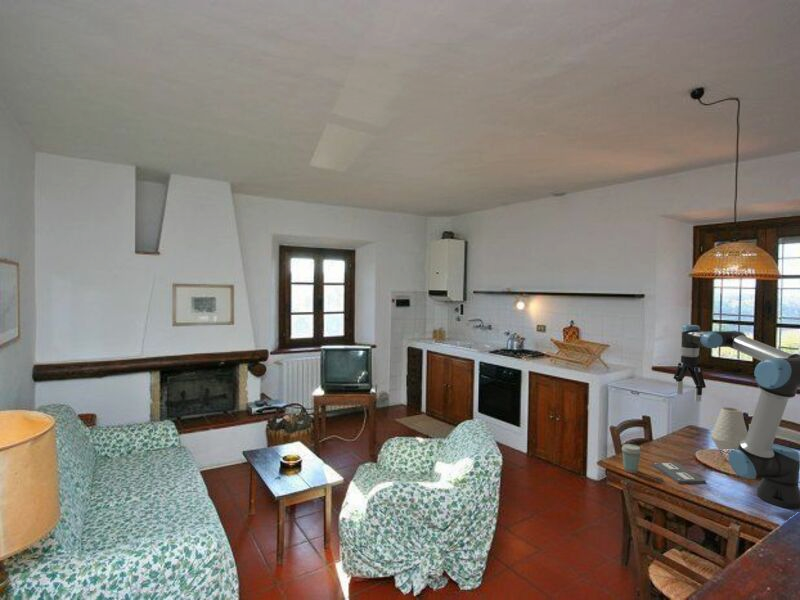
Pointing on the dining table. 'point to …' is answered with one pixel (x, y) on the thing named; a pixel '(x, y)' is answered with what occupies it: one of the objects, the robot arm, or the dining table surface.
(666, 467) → the board
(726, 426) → the vase
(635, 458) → the coffee cup
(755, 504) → the dining table surface
